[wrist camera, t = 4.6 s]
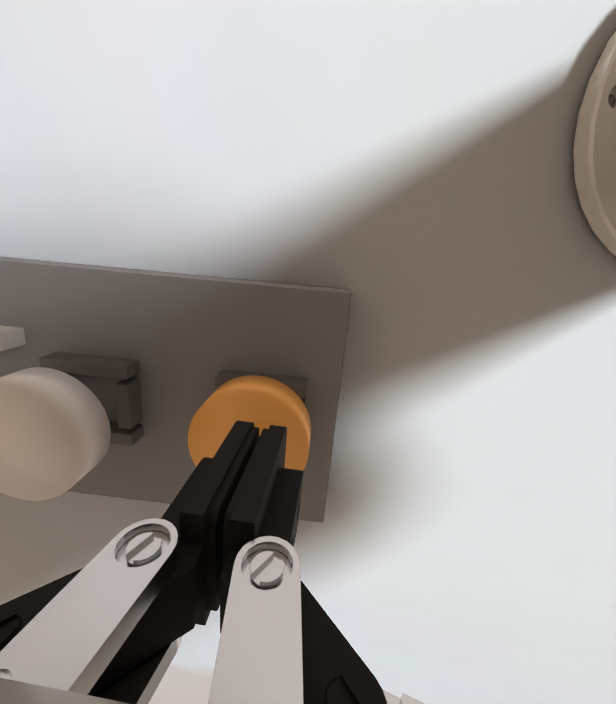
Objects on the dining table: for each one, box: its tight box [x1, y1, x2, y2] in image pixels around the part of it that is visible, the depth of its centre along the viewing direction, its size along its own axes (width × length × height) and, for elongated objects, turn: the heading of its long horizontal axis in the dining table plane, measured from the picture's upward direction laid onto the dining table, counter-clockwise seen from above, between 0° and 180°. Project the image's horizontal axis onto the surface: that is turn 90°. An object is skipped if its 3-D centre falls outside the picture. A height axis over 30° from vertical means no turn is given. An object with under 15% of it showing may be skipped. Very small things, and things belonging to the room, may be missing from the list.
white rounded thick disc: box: [0, 367, 111, 501], centre depth 13 cm, size 5×5×3 cm
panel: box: [0, 257, 351, 522], centre depth 16 cm, size 27×12×3 cm, turn 85°
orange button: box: [188, 375, 311, 471], centre depth 14 cm, size 5×5×3 cm
